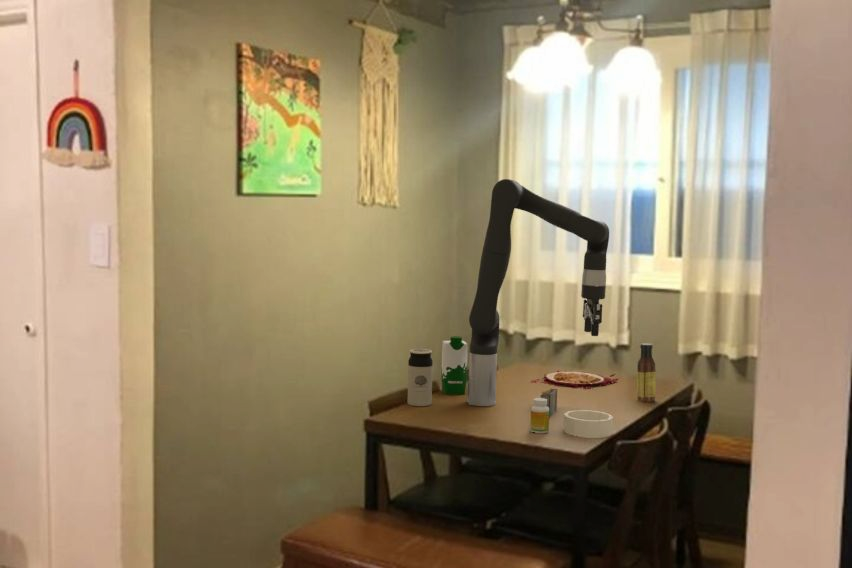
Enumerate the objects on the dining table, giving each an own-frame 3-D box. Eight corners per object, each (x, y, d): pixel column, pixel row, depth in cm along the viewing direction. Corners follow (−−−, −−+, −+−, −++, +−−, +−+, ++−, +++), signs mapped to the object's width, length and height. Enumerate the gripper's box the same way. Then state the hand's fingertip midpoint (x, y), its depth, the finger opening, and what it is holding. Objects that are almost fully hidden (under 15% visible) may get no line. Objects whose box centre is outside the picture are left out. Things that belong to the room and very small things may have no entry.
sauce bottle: (656, 400, 325) (659, 343, 323) (653, 403, 319) (655, 346, 317) (637, 397, 327) (640, 342, 326) (634, 401, 322) (636, 344, 320)
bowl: (569, 437, 269) (569, 420, 269) (559, 426, 283) (560, 409, 283) (617, 438, 270) (617, 421, 270) (605, 426, 284) (605, 410, 284)
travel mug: (410, 401, 314) (411, 348, 312) (433, 402, 312) (434, 349, 311) (405, 406, 306) (406, 351, 304) (429, 407, 304) (430, 353, 303)
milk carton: (443, 395, 324) (444, 338, 323) (439, 389, 333) (440, 334, 332) (468, 394, 326) (469, 338, 324) (463, 389, 335) (465, 334, 333)
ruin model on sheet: (549, 419, 293) (550, 389, 292) (539, 418, 294) (540, 388, 294) (557, 412, 304) (559, 383, 303) (548, 411, 305) (549, 382, 304)
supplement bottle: (548, 434, 273) (549, 401, 272) (529, 433, 274) (530, 400, 273) (548, 430, 278) (550, 398, 277) (530, 428, 279) (531, 396, 278)
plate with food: (557, 375, 371) (558, 366, 371) (618, 382, 357) (618, 373, 356) (529, 385, 352) (529, 376, 351) (592, 392, 337) (592, 383, 337)
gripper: (576, 281, 303) (574, 330, 305) (588, 285, 289) (585, 337, 291) (599, 281, 304) (596, 331, 306) (611, 286, 290) (608, 337, 291)
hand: (591, 333), depth 298 cm, fingers open, 8 cm apart
